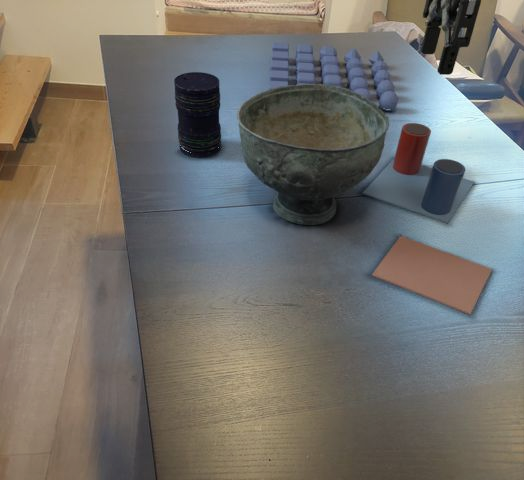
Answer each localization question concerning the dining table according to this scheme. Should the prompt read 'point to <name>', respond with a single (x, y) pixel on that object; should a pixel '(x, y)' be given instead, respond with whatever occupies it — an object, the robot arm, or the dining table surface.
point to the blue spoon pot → (442, 186)
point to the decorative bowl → (310, 145)
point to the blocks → (333, 71)
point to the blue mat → (411, 191)
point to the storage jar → (198, 114)
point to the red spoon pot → (411, 148)
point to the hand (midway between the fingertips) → (435, 63)
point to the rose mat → (433, 274)
